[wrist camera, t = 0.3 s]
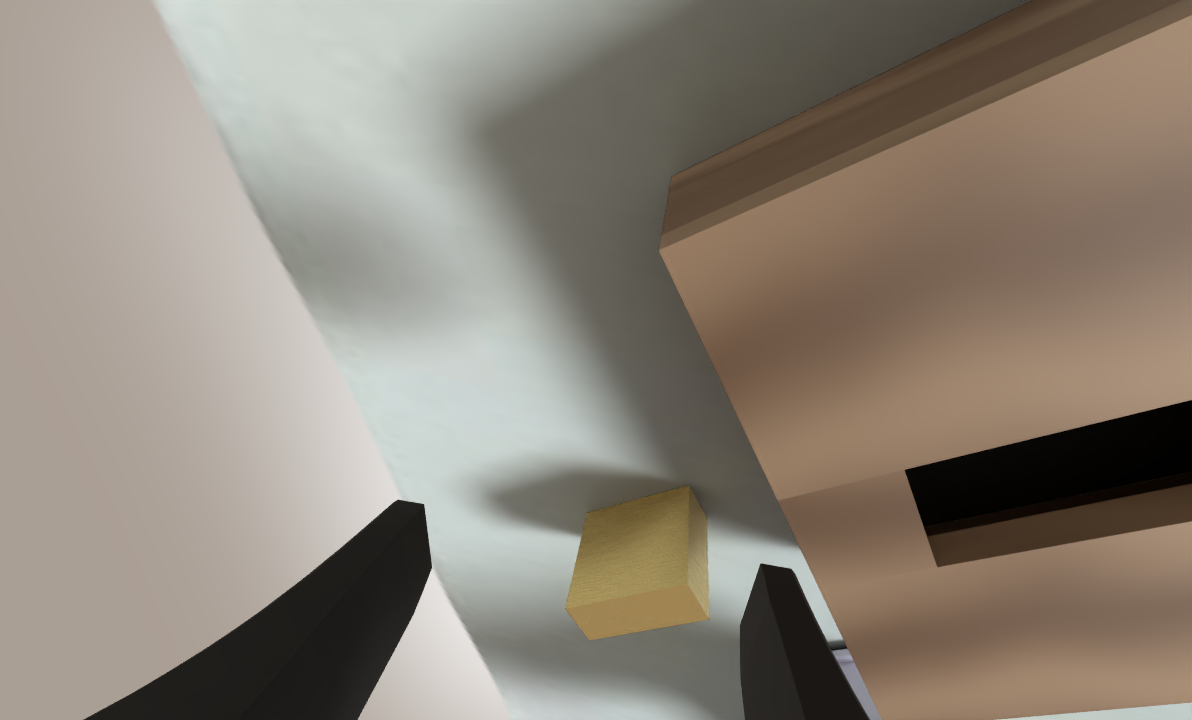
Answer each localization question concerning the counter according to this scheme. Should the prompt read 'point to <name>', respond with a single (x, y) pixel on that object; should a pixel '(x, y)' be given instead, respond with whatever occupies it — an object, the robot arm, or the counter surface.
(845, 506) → the coin box
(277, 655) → the robot arm
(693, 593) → the block
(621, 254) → the counter surface
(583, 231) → the counter surface
